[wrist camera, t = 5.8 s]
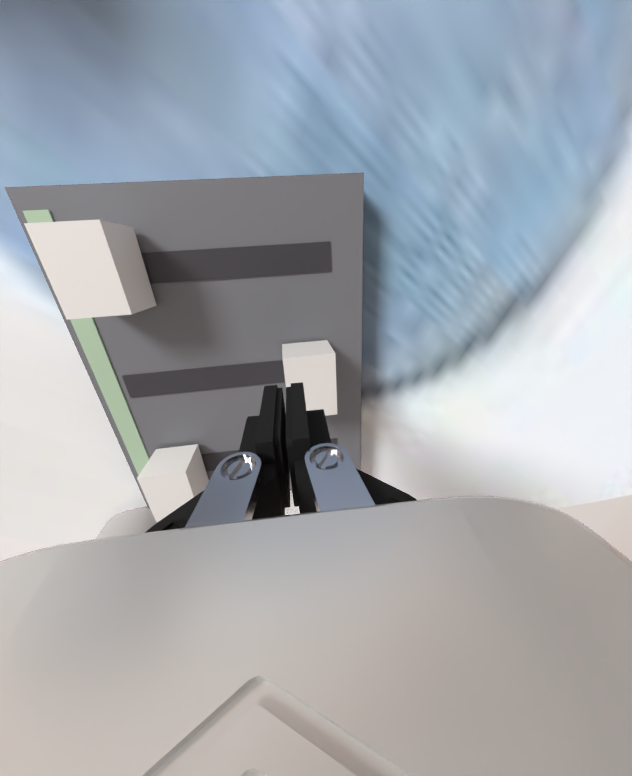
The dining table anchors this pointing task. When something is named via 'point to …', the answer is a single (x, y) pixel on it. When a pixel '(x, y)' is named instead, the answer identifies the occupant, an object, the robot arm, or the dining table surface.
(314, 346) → the handle
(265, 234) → the breaker panel
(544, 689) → the robot arm
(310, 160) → the dining table surface
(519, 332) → the dining table surface
